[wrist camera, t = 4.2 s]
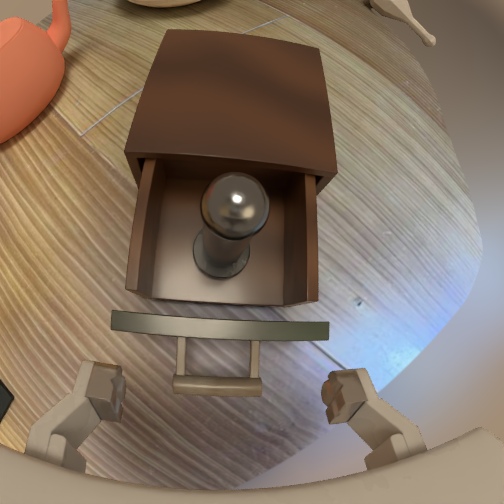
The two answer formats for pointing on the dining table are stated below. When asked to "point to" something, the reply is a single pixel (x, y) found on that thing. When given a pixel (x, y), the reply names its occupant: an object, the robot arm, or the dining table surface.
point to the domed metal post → (229, 224)
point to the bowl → (163, 2)
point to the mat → (4, 399)
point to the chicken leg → (402, 16)
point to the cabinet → (235, 105)
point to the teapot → (30, 68)
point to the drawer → (221, 291)
